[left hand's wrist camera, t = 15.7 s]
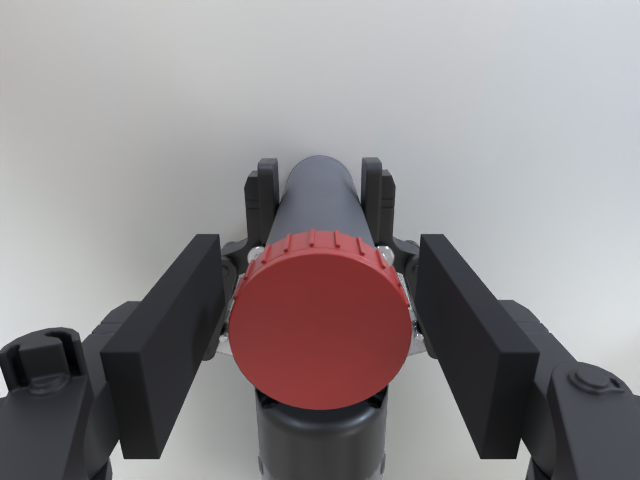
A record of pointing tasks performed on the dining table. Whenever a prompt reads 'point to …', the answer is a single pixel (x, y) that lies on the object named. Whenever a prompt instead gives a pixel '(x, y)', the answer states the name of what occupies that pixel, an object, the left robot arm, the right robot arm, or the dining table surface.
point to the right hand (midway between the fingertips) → (320, 162)
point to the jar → (320, 202)
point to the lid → (320, 321)
